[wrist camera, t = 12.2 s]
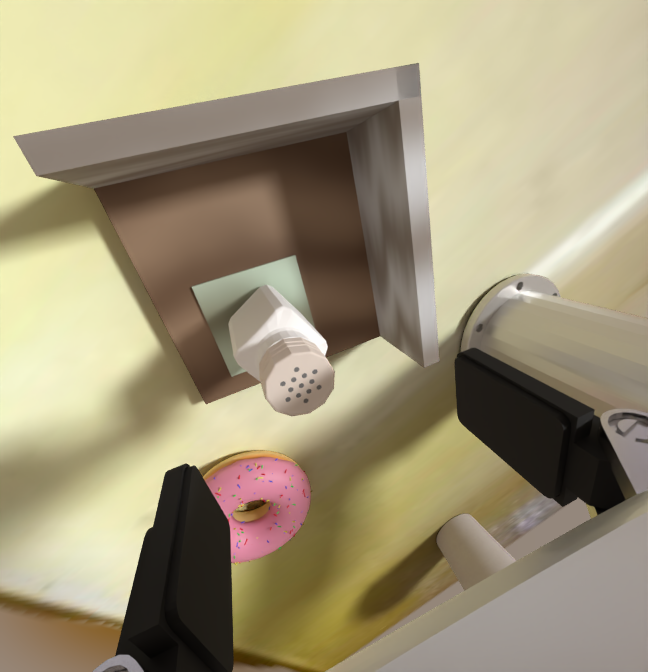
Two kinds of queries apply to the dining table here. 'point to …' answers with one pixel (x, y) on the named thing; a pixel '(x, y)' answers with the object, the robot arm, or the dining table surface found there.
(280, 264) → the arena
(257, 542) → the doughnut
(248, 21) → the dining table surface
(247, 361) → the salt shaker
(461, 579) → the coffee cup
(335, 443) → the dining table surface
